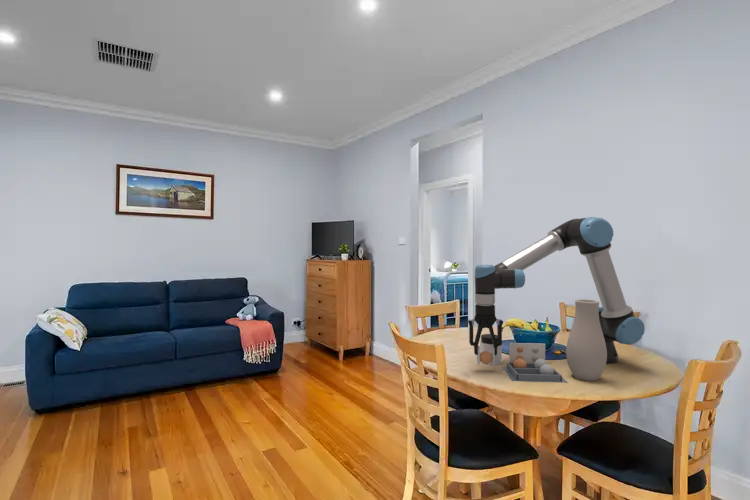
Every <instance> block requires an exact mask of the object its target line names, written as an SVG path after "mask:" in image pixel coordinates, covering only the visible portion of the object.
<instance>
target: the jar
mask: <svg viewBox="0 0 750 500" xmlns="http://www.w3.org/2000/svg"><path fill="white" fill-rule="evenodd" d="M494 335H495V339H496V342H498V341H497V334H494ZM491 346H493V343H492V339H491V335H490V333H484V334H481V336H480V340H479V347H480V353H481V352H483V351H488V352H490V353H491ZM502 347H503V344H502V345H501V346H498V347H497V355H495V364H492V362H490V363H489V364H488V365H491V366H497V365H500V364H502V358H503V357H502V355H503V353H502V351H503V350H502ZM482 364H483V365H485V364H484V363H482Z"/></svg>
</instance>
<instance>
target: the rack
mask: <svg viewBox="0 0 750 500" xmlns="http://www.w3.org/2000/svg"><path fill="white" fill-rule="evenodd" d="M508 344H509V345H508V346H509V351H508V352H509V353H508V354H509V355H508V359H509V360H508V362H506V366H501V368H502V370H503V371H504V373H505V374H506V376H508V378H509V379H510V381H512V382H524V383H525V382H527V383H528V382H529V383H560V384H561V383H562V384H565V383H566V384H567V383H568V384H569V381H568V380H566V379H565V378H564V377H563V375H562V374H561V373H560V372H558V371H557V370H556V369H555V368H554V367H553V369H554V375H542V374H541V373H540V369H535V367H534V363H535V361H536V360H537V359H543V360H545V361H546V343H539V342H538V343H536V342H535V343H534V342H527V343H525V342H509V343H508ZM518 358H521V359H523V360H525V362H526V364H527V367H526V368H514V366H513V363H514V361H515V360H516V359H518ZM547 364H548V365H550V364H549V363H547Z"/></svg>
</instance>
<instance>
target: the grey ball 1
mask: <svg viewBox="0 0 750 500" xmlns="http://www.w3.org/2000/svg"><path fill="white" fill-rule="evenodd" d="M544 364H548V362H547V361H546V359H545V360H543V359H537V360H536V361H535V363H534V367H535V369H540V368H541V366H542V365H544Z"/></svg>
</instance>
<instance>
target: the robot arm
mask: <svg viewBox="0 0 750 500" xmlns="http://www.w3.org/2000/svg"><path fill="white" fill-rule="evenodd" d="M613 237H614V228H613V226H612V224H611V223H610V222H609V221H608V220H606V219H604V218H602V217H596V216H590V217H581V218H573V219H570V220H568V221H565V222H564V223H561V224H560V225H558V226H556V227H555V228H553V229H551V230H550V231H548V233H547V235H546V236H544V237H542V238H541V239H539V240H537V241H535V242H533V243H532V244H530V245H529V246H527V247H525V248H523V249H522V250H520V251H518V252H516V253H515V254H513V255H512V256H510V257H508V258H506V259H505V260H503V261H501V262H499V263H497V264H495V265H494V264H477V265H476V266H475V269H474V285H475V286H474V289H475V290H474V298H475V299H474V303H475V308H474V309H475V314H474V315H475V316H474V318H472V319H467V323H468V328H469V329H468V336H469V337H468V338H469V341H468V342H469V345H470V346H472V347H473V353H474V355H475V356H476V363H477V365H480V364H481V361H480V341H481V335H482V332H483V329H488V331H489V334H490V335H491V339H492V343H493V346H491V355H492V361H491V362H492V364H495V355H497V347H498V346H501V345H502V346H503V333H502V332H503V331H502V330H503V325H504V321H503V320H502V319H501V318H500V319H499V318H497V316H496V305H495V303H496V290H497V289H520V288H523V287H524V285H525V283H526V275H525V273H524V270H525V269H527V268H529V267H531V266H533V265H534V264H536V263H538V262H540V261H542V260H543V259H545V258H546V257H548V256H550V255H551V254H553V253H555V252H557V251H559V252H560V251H561V252H562V251H563V250H565V249H568V248H571V247H577V248H578V250H579V253H580V255H582V256H584V257H585V258H586V262H587V264H588V267H589V270H590V273H591V276H592V280H593V283H594V286H595V288H596V289H595V290H596V291H597V294H598V297H599V300H600V301H599V302H600V303H601V306H599V321H600V325H601V329H602V332H603V336H604V339H605V343H606V348H607V361H606V364H613V363H617V362H618V361H619V354H618V351H617V349H616V345H615V342H617V343H619V344H622V345H623V344H625V345H630V346H631V345H634V344H635V345H636V344H637V343H638V342H639V341H640V340H641V339H643V336H644V334H645V331H646V330H645V324H644V322H643V321H642V319H640V318H639V317H638V316H635V314H634V310H633V308H632V307H631V306H629V305H627V302H626V300H625V299H626V298H625V296H624V293H623V291H622V287H621V284H620V281H619V278H618V275H617V272H616V270H615V266H614V264H613V260H612V257H611V254H610V251H609V250H610V249H611V247H612V243H611V242H613V241H612V240H613ZM475 323H476V324H477V329H476V334H475V338H474V325H475ZM495 323H496V326H497V327H496V330H497V331H496V332H497V333H496V334H495V331H494V327H493V326H494V324H495ZM495 335H497V341H498V342H496V339H495Z"/></svg>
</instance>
